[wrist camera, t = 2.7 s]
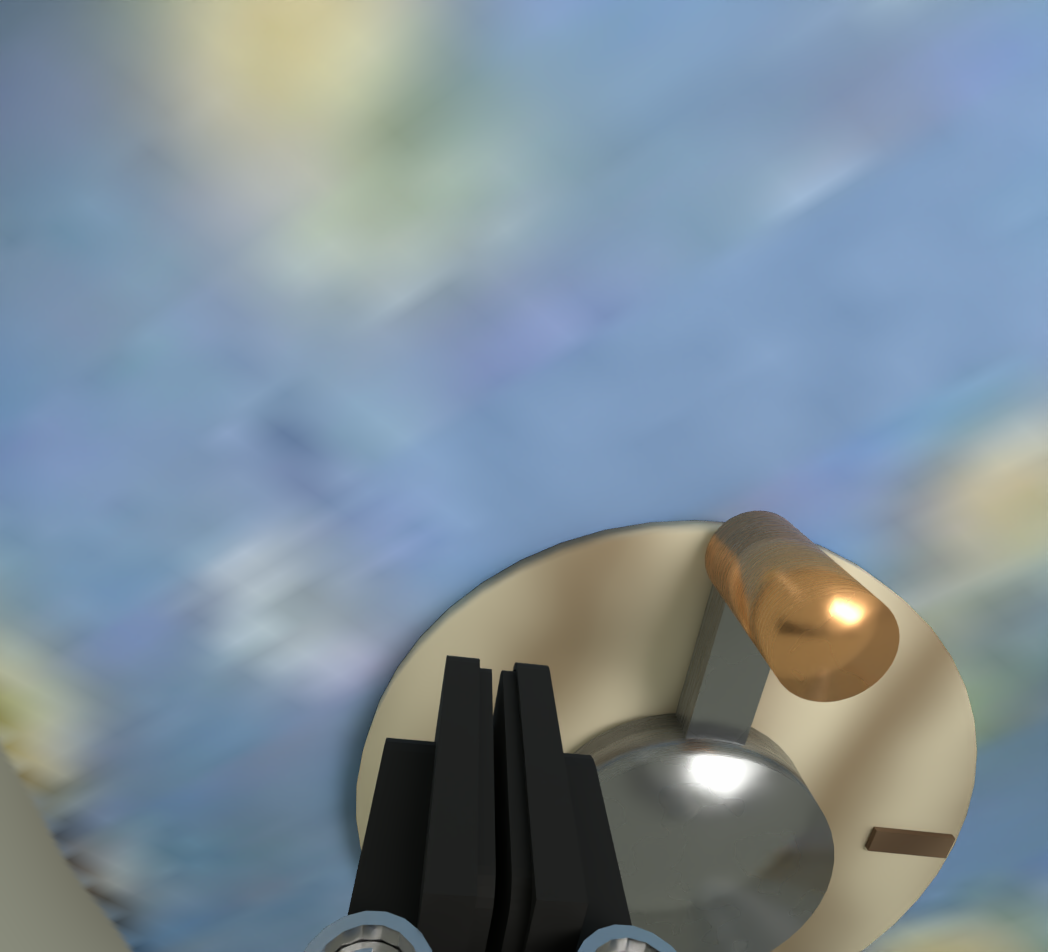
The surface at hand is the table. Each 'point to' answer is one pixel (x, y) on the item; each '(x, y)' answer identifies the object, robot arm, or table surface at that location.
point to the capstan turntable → (740, 747)
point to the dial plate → (791, 722)
